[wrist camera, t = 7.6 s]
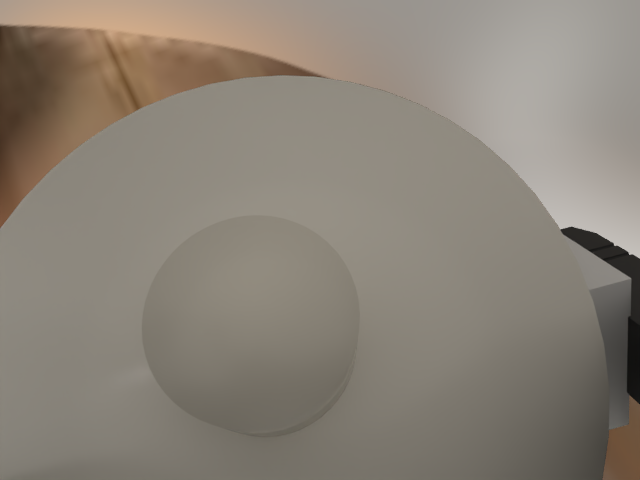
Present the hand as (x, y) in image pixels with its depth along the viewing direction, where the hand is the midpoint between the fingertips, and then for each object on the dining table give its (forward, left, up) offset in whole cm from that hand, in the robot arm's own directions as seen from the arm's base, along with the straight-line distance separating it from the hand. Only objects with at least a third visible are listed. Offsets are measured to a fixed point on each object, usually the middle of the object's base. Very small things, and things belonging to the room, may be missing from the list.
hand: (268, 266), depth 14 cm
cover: (+1, -3, -3) cm, 5 cm away
